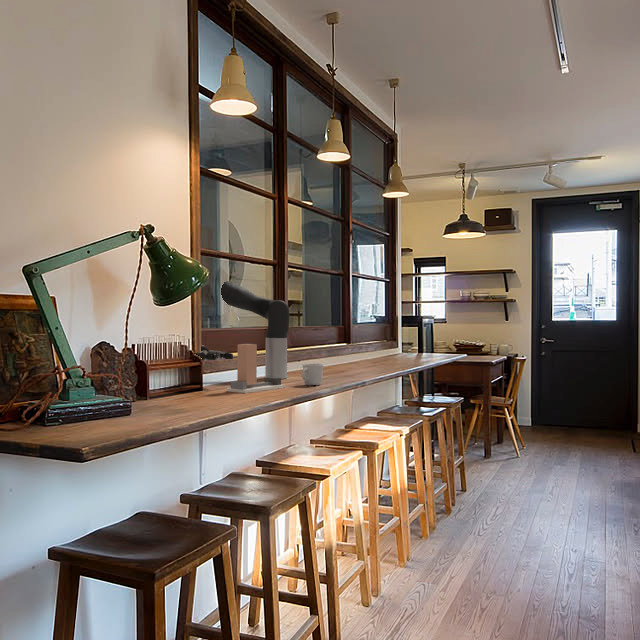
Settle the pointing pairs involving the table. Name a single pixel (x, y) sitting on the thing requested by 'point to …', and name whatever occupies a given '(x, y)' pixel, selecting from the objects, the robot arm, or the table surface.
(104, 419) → the table surface
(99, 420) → the table surface
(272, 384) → the rail board
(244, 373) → the block
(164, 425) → the table surface
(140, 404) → the table surface
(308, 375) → the cup
